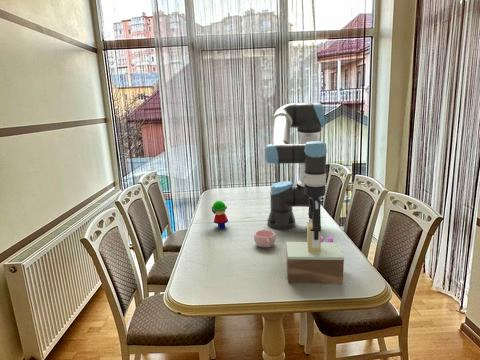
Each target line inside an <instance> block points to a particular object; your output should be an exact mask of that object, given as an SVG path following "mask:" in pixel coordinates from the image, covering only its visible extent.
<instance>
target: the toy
mask: <svg viewBox="0 0 480 360" xmlns="http://www.w3.org/2000/svg"><path fill="white" fill-rule="evenodd" d="M227 209H228V206H227V205H226V204H225V202H223V200H222V201H221V200H217V201H215V202H214V203H213V205H212V206H211V212H212V213H213V214H214V218H213V219H214V220H213V223H214V224H217V226H218V227H217V228H219V230H225V229H226V224H227V223H228V222H229V219H228V217H227V214H226V210H227Z"/></svg>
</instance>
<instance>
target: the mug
mask: <svg viewBox="0 0 480 360" xmlns="http://www.w3.org/2000/svg"><path fill="white" fill-rule="evenodd" d="M253 236H254V237H253V238H254V239H253V241H254V242H255V245H256V246H258V247H259V248H265V249H266V248H271V247H273V246H274V244H275V243H276V239H277V237H276V233H275V232H274V230H273V231H272V230H271V229H270V230H269V229H260V230H257V231H256V232H254V235H253Z"/></svg>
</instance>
